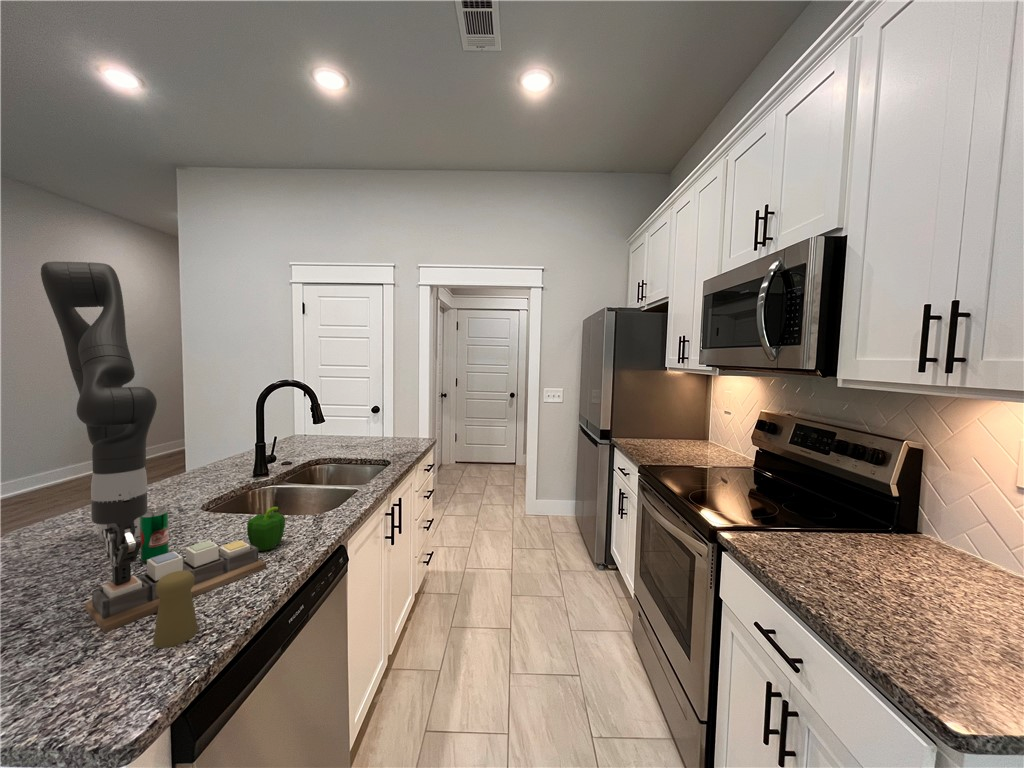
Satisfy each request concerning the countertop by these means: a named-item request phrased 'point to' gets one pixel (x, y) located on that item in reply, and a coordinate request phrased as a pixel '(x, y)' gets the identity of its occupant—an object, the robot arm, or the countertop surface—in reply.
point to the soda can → (154, 533)
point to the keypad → (147, 601)
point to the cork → (175, 610)
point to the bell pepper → (266, 529)
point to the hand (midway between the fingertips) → (121, 582)
